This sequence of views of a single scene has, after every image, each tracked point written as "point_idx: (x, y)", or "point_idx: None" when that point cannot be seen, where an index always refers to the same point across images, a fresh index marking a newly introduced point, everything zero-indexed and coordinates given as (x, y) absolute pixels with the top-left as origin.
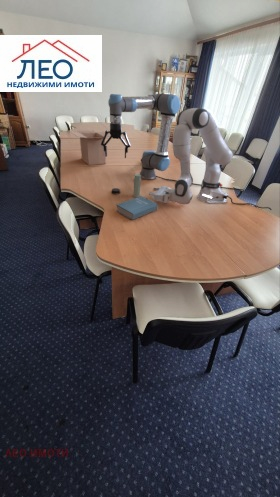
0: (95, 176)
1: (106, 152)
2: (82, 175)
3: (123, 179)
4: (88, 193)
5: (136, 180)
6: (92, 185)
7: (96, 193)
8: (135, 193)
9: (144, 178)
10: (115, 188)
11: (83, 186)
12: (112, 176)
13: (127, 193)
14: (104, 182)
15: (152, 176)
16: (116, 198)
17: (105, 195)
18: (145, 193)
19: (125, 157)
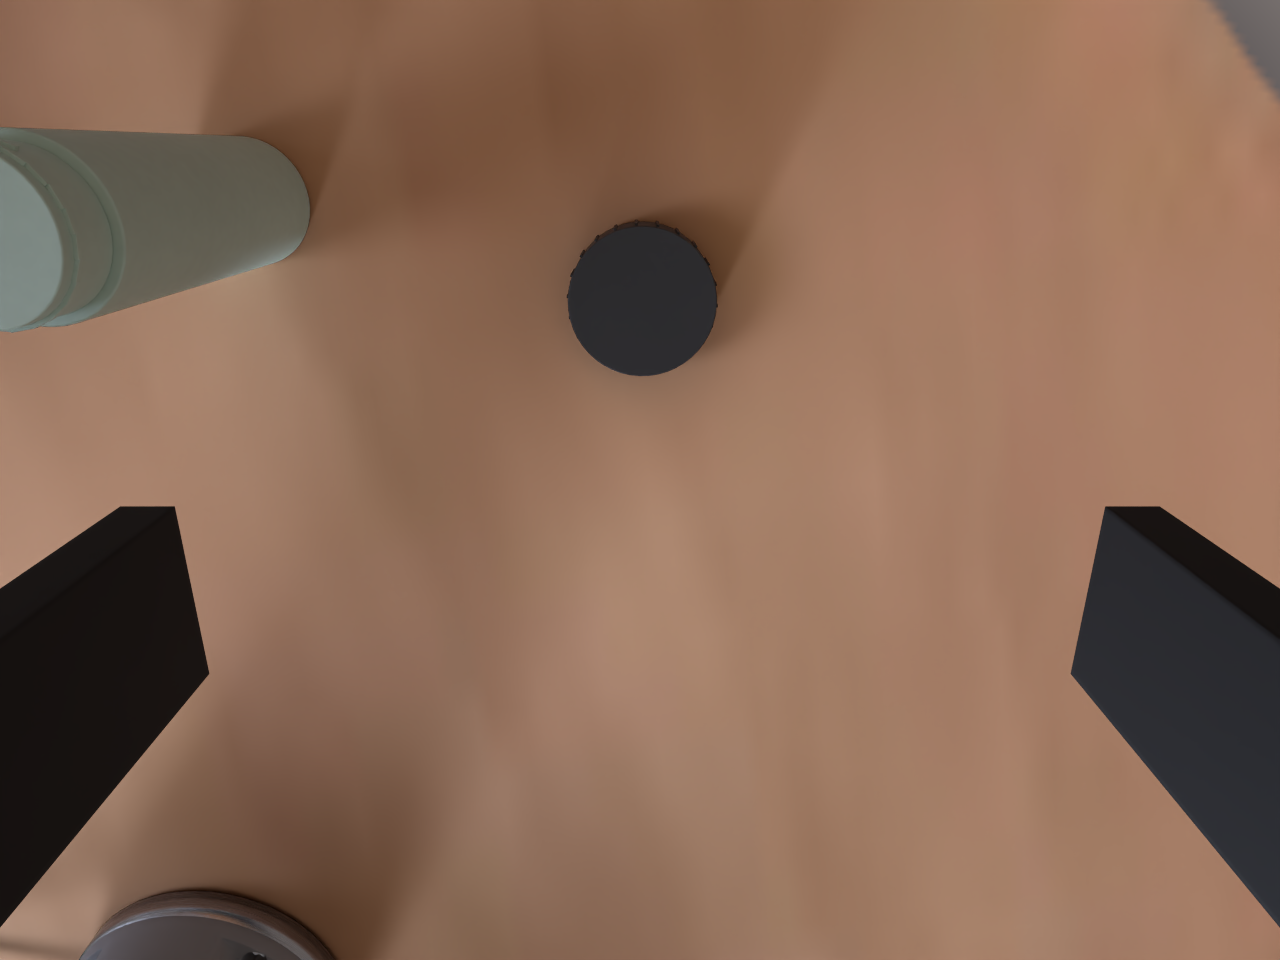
0: (1027, 895)
1: (1226, 631)
2: (1232, 900)
3: (577, 854)
4: (1137, 172)
5: (51, 129)
6: (1069, 543)
7: (990, 197)
8: (228, 138)
9: (240, 911)
10: (654, 359)
11: (1224, 476)
12: (761, 934)
13: (430, 292)
14: (872, 695)
15: (98, 957)
16: (600, 12)
17: (819, 128)
18: (113, 345)
19: (119, 514)
